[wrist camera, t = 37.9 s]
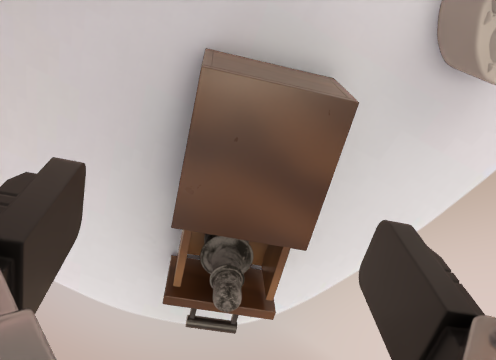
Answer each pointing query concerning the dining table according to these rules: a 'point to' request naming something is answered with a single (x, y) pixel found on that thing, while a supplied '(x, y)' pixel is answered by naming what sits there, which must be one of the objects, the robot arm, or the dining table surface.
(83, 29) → the dining table surface
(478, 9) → the lumpy-topped squat cylinder
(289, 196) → the cabinet
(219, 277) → the grey stone knobbed piece
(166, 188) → the dining table surface
